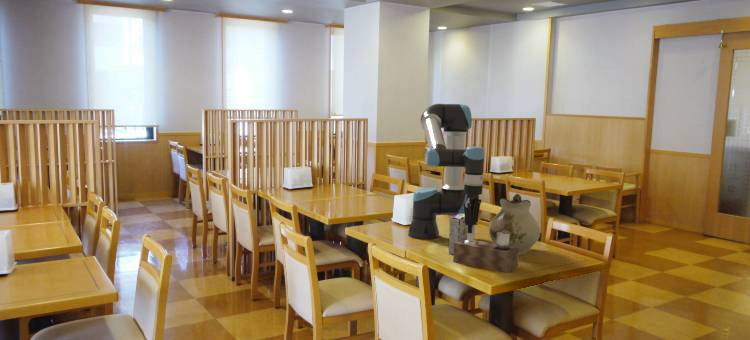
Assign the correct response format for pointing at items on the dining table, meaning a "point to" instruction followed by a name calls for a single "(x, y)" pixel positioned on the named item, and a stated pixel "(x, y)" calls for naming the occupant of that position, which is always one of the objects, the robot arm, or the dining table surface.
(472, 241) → the peg
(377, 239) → the dining table surface
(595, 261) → the dining table surface
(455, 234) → the candy bar box
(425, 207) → the robot arm
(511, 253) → the walnut bar
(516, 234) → the pitcher
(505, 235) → the peg
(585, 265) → the dining table surface
